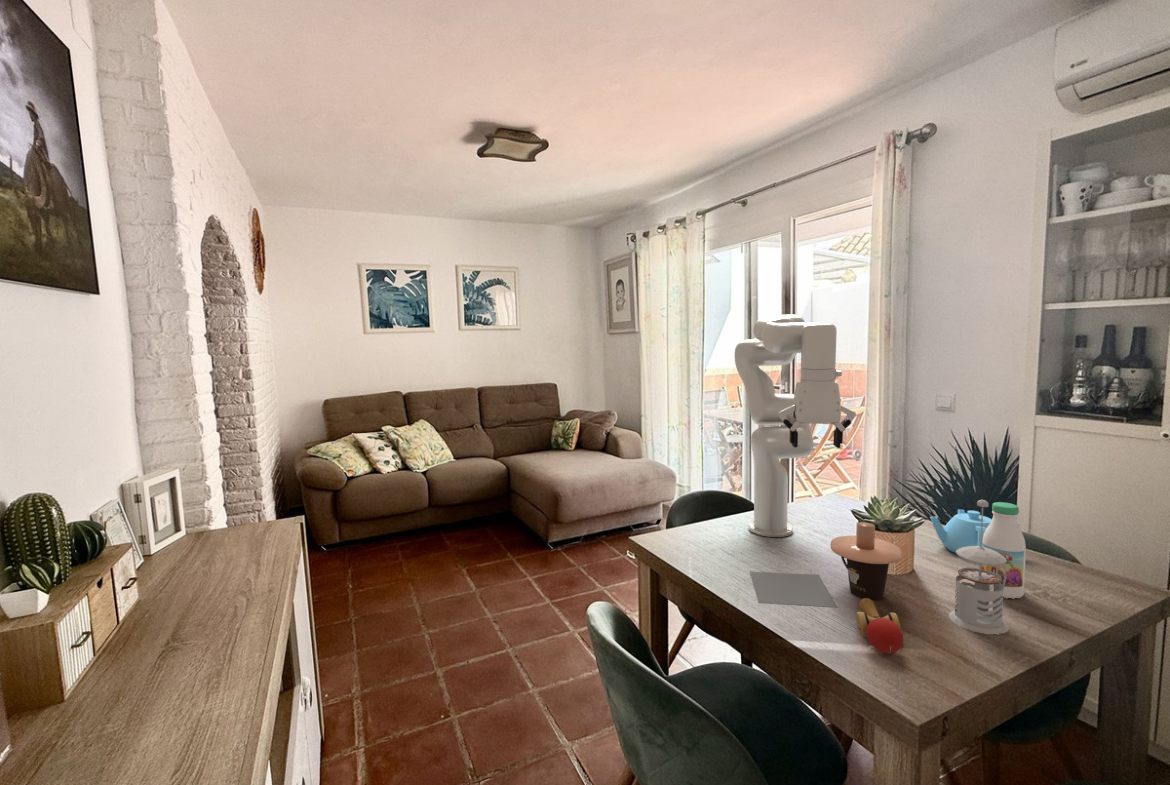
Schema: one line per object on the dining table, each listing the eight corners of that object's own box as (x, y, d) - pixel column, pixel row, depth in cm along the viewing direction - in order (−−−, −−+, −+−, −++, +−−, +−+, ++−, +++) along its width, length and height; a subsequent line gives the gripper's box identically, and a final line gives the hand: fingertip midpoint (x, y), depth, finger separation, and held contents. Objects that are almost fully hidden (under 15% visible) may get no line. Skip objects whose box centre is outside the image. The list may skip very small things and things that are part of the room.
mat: (749, 575, 131) (749, 571, 131) (818, 578, 129) (818, 574, 128) (758, 606, 116) (758, 602, 116) (837, 611, 113) (837, 607, 113)
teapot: (924, 546, 147) (925, 508, 146) (958, 536, 153) (959, 500, 152) (985, 566, 133) (987, 524, 132) (1020, 555, 139) (1022, 515, 138)
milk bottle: (983, 581, 125) (987, 497, 123) (1026, 591, 120) (1030, 504, 118) (976, 592, 120) (980, 505, 118) (1021, 603, 114) (1025, 512, 113)
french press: (936, 615, 111) (941, 496, 108) (974, 604, 115) (979, 489, 112) (987, 639, 101) (993, 510, 99) (1026, 626, 106) (1032, 502, 103)
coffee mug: (894, 608, 114) (896, 562, 113) (851, 605, 115) (851, 560, 115) (876, 584, 125) (877, 542, 124) (837, 581, 127) (837, 540, 126)
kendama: (842, 615, 114) (861, 651, 97) (848, 586, 114) (868, 616, 97) (882, 626, 112) (909, 665, 95) (888, 597, 112) (915, 629, 95)
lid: (823, 538, 127) (823, 514, 127) (887, 540, 125) (887, 515, 124) (840, 562, 114) (841, 534, 113) (912, 565, 111) (913, 537, 111)
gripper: (851, 374, 129) (848, 443, 131) (776, 374, 132) (775, 442, 134) (862, 377, 122) (859, 450, 124) (782, 377, 125) (781, 449, 127)
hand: (815, 446), depth 129 cm, fingers open, 9 cm apart
